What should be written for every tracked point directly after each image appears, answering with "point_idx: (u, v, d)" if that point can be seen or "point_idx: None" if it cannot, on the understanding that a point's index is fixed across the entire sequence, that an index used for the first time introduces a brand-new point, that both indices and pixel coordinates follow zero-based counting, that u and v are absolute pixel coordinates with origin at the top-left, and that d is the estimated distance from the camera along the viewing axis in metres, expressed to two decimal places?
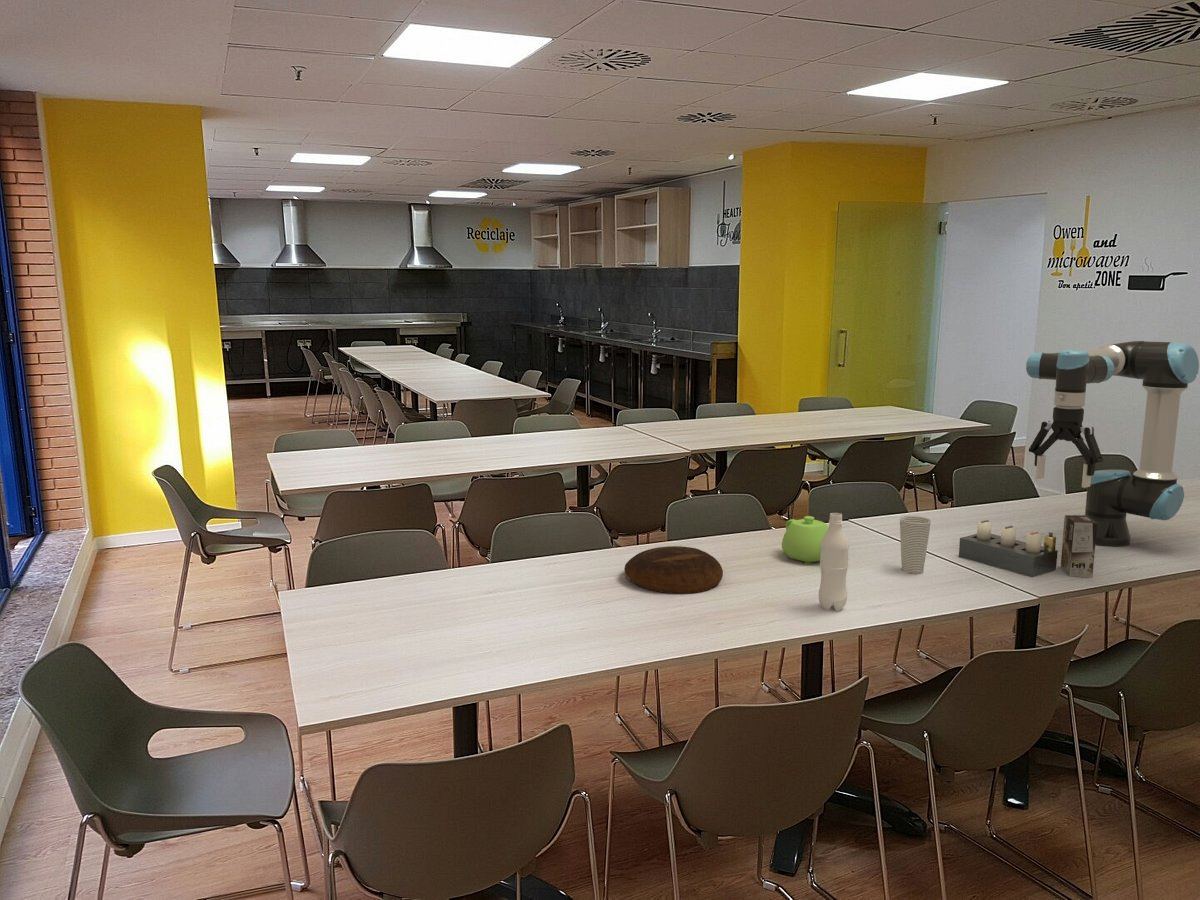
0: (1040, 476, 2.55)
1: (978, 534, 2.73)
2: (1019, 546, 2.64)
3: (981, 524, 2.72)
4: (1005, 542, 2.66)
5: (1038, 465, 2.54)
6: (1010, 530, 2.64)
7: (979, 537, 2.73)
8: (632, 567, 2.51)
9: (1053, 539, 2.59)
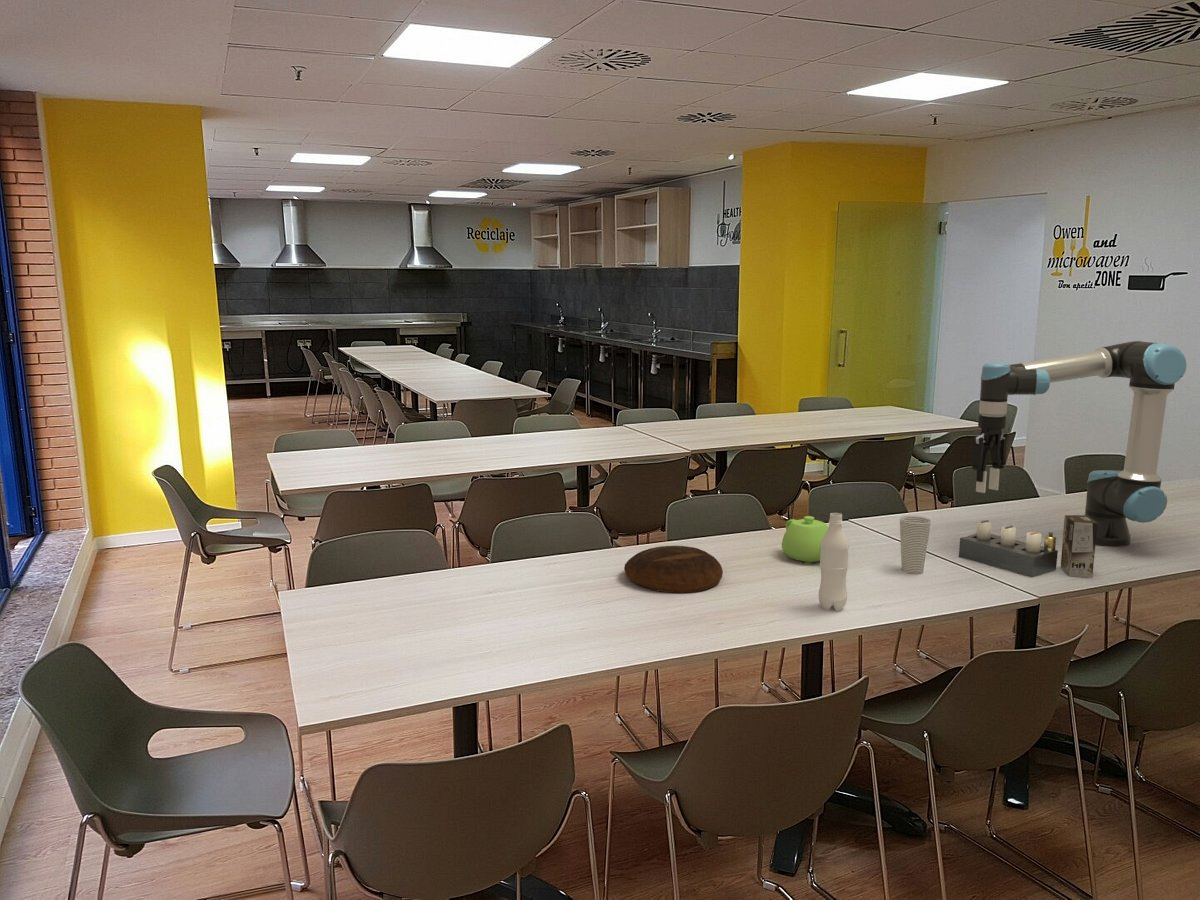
0: (991, 487, 2.73)
1: (978, 534, 2.73)
2: (1019, 546, 2.64)
3: (981, 524, 2.72)
4: (1005, 542, 2.66)
5: None
6: (1010, 530, 2.64)
7: (979, 537, 2.73)
8: (632, 567, 2.52)
9: (1053, 539, 2.59)
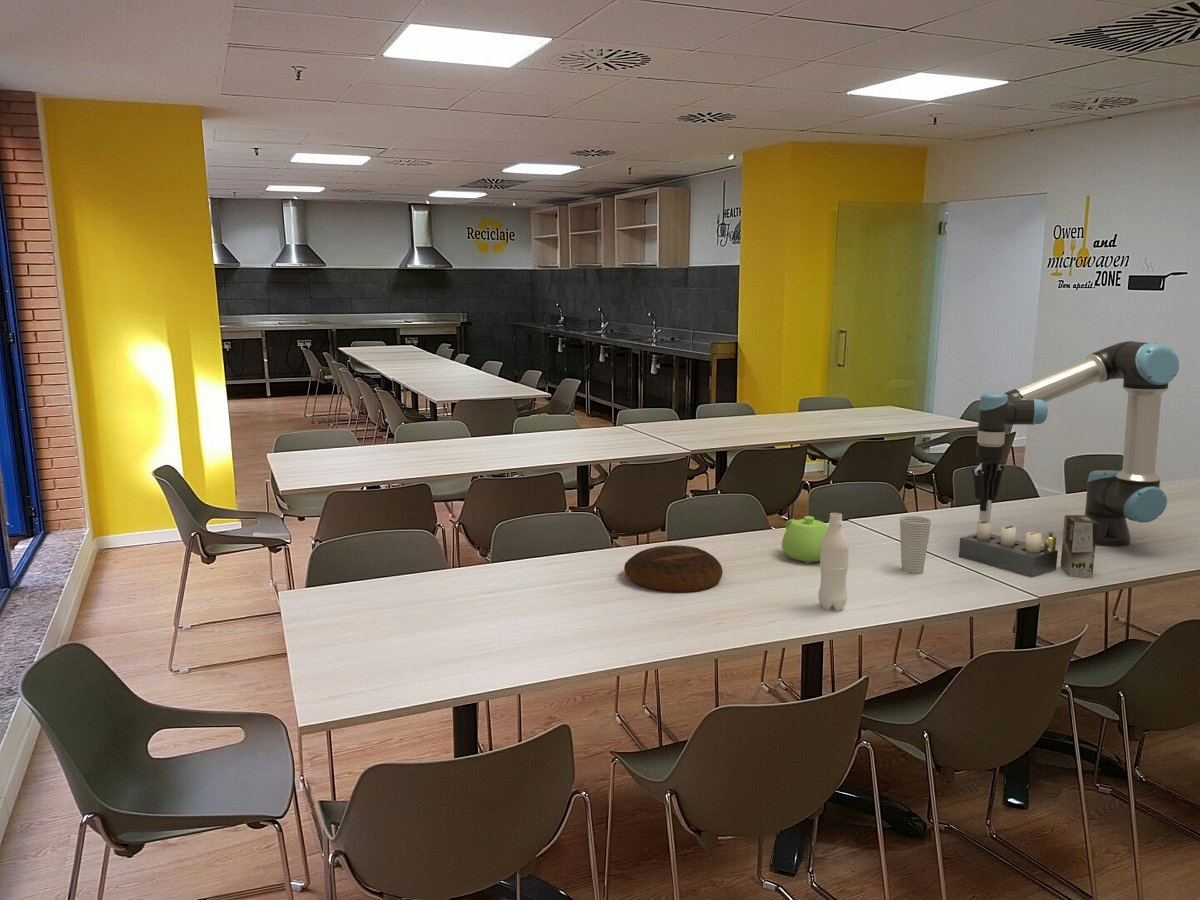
0: None
1: (978, 534, 2.73)
2: (1019, 546, 2.64)
3: (981, 524, 2.72)
4: (1005, 542, 2.66)
5: None
6: (1010, 530, 2.64)
7: (979, 538, 2.73)
8: (632, 566, 2.52)
9: (1053, 539, 2.59)
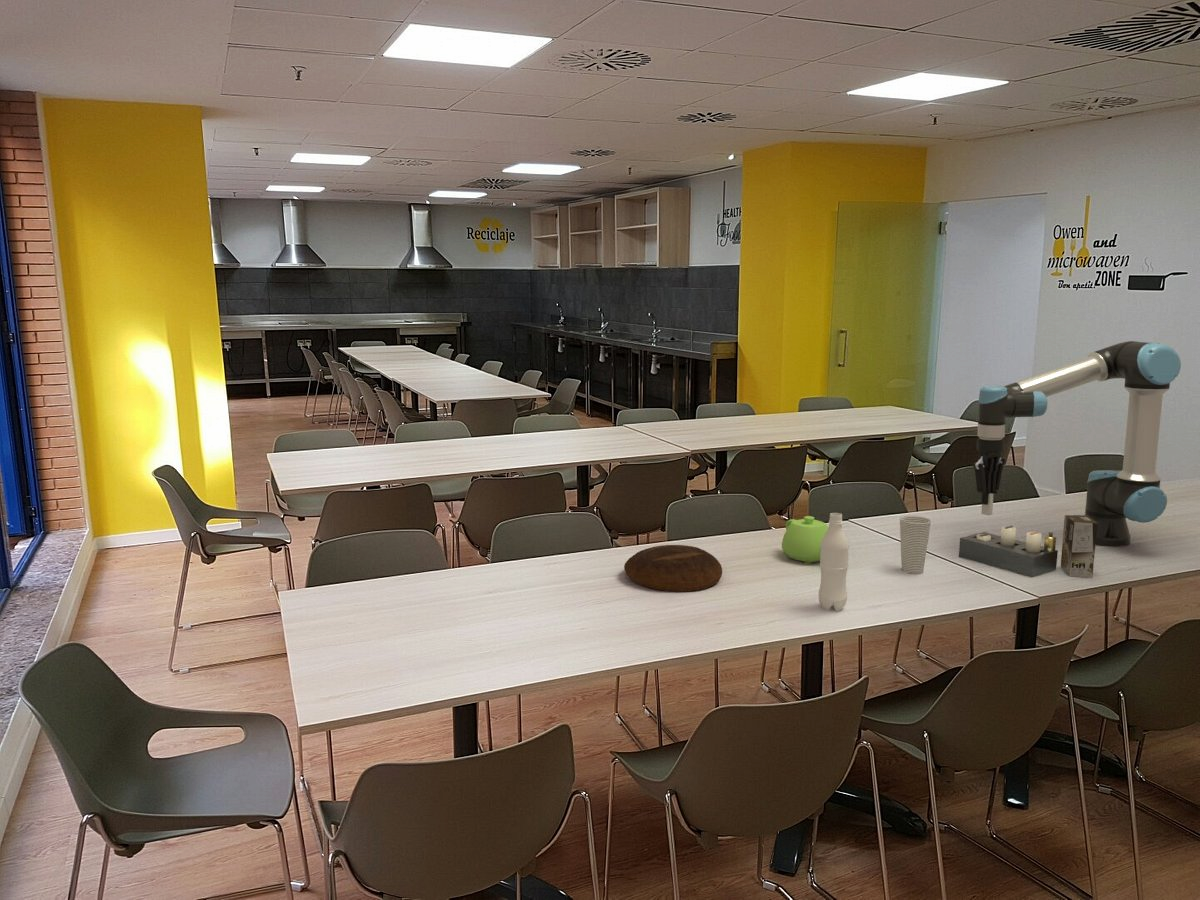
0: None
1: None
2: (1019, 546, 2.64)
3: (980, 538, 2.72)
4: (1005, 542, 2.66)
5: None
6: (1010, 530, 2.64)
7: None
8: (632, 566, 2.52)
9: (1053, 539, 2.59)
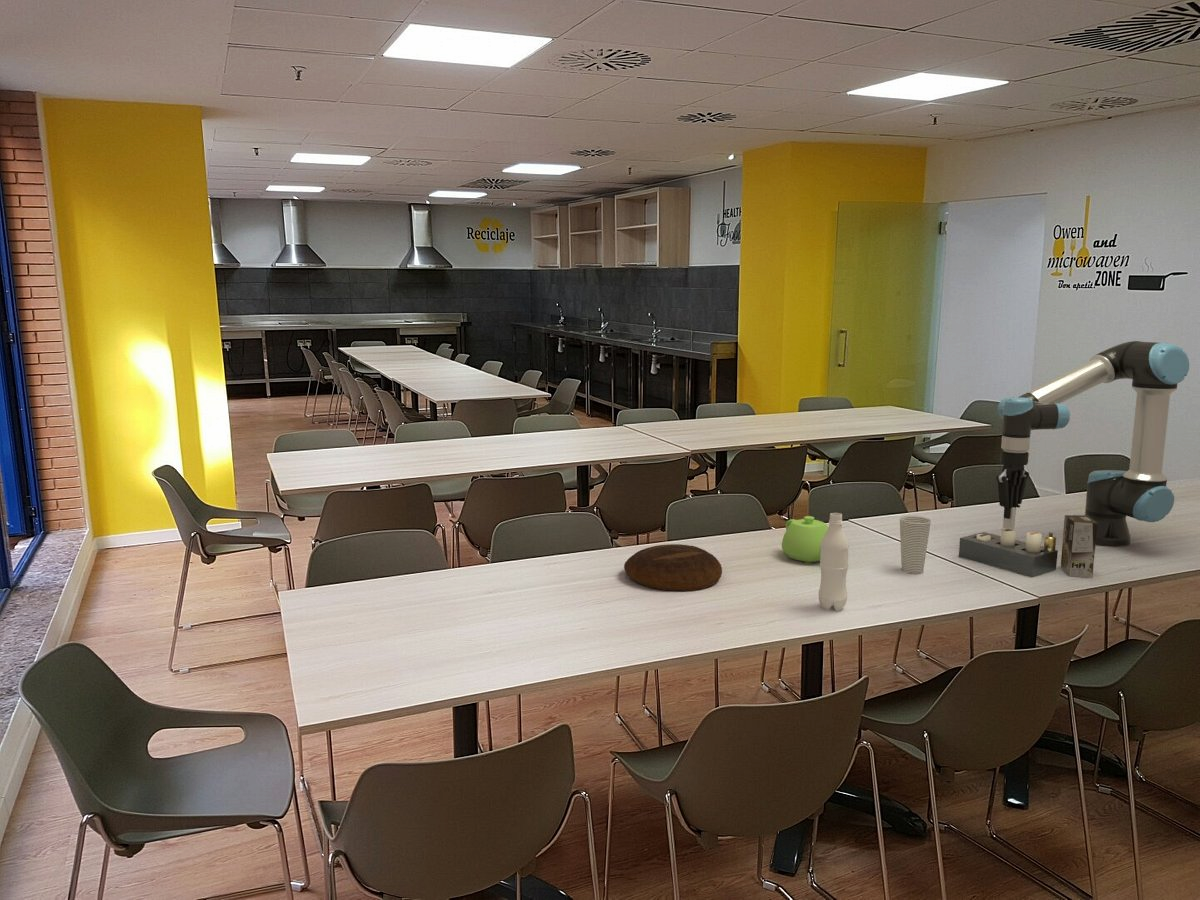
0: None
1: None
2: (1019, 546, 2.64)
3: (980, 538, 2.72)
4: (1005, 545, 2.66)
5: None
6: (1010, 533, 2.64)
7: None
8: (632, 565, 2.53)
9: (1053, 539, 2.59)
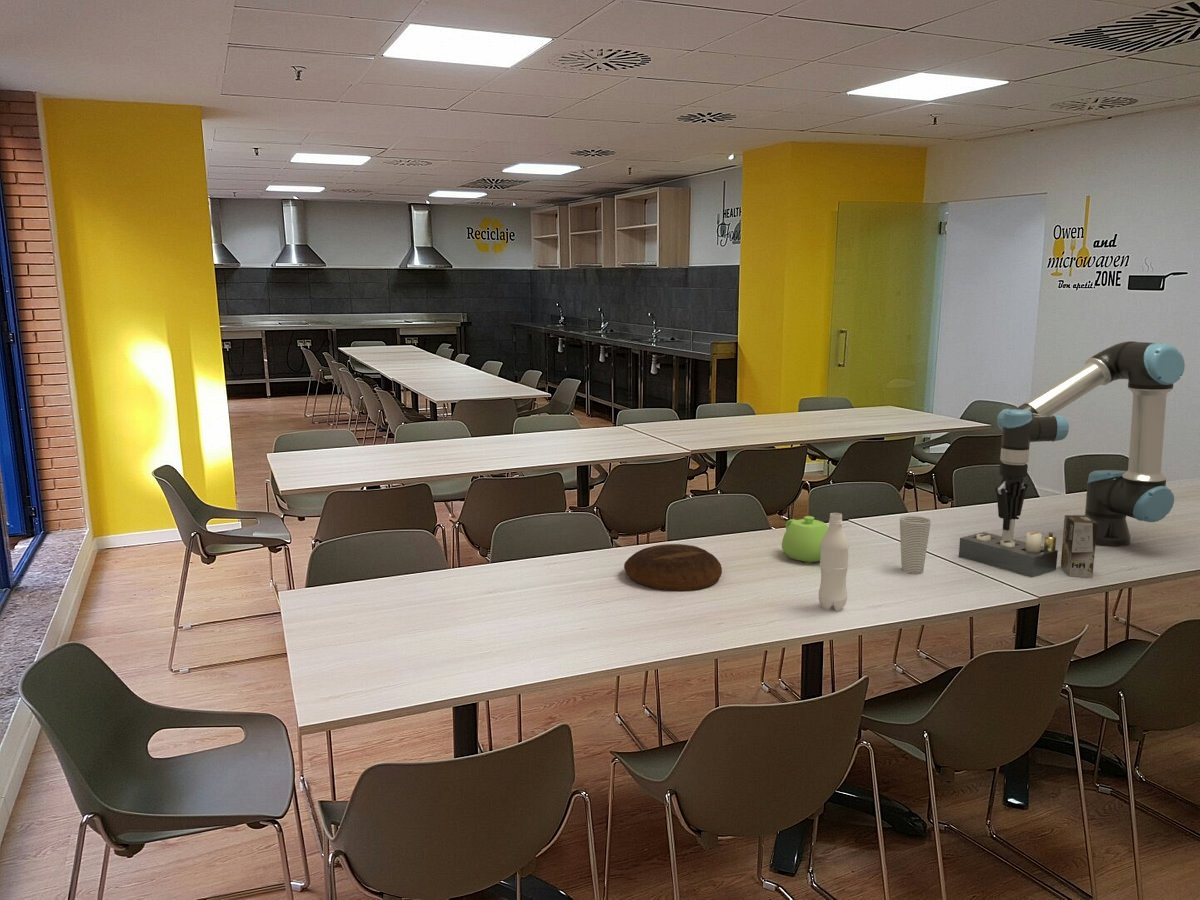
0: None
1: None
2: (1019, 546, 2.64)
3: (980, 538, 2.72)
4: None
5: None
6: (1009, 544, 2.65)
7: None
8: (633, 565, 2.53)
9: (1053, 539, 2.59)
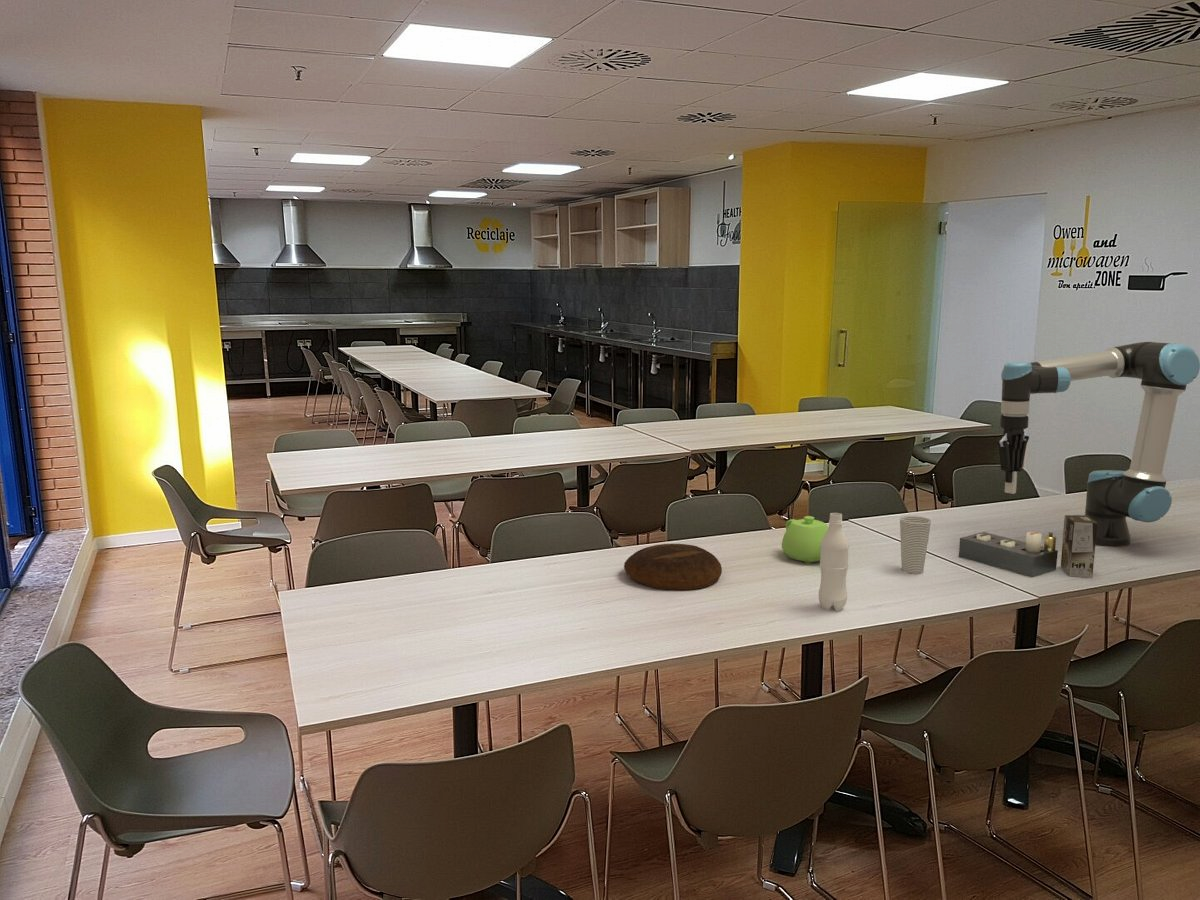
0: None
1: None
2: (1019, 546, 2.64)
3: (980, 538, 2.72)
4: None
5: None
6: (1009, 544, 2.65)
7: None
8: (633, 565, 2.53)
9: (1053, 539, 2.59)
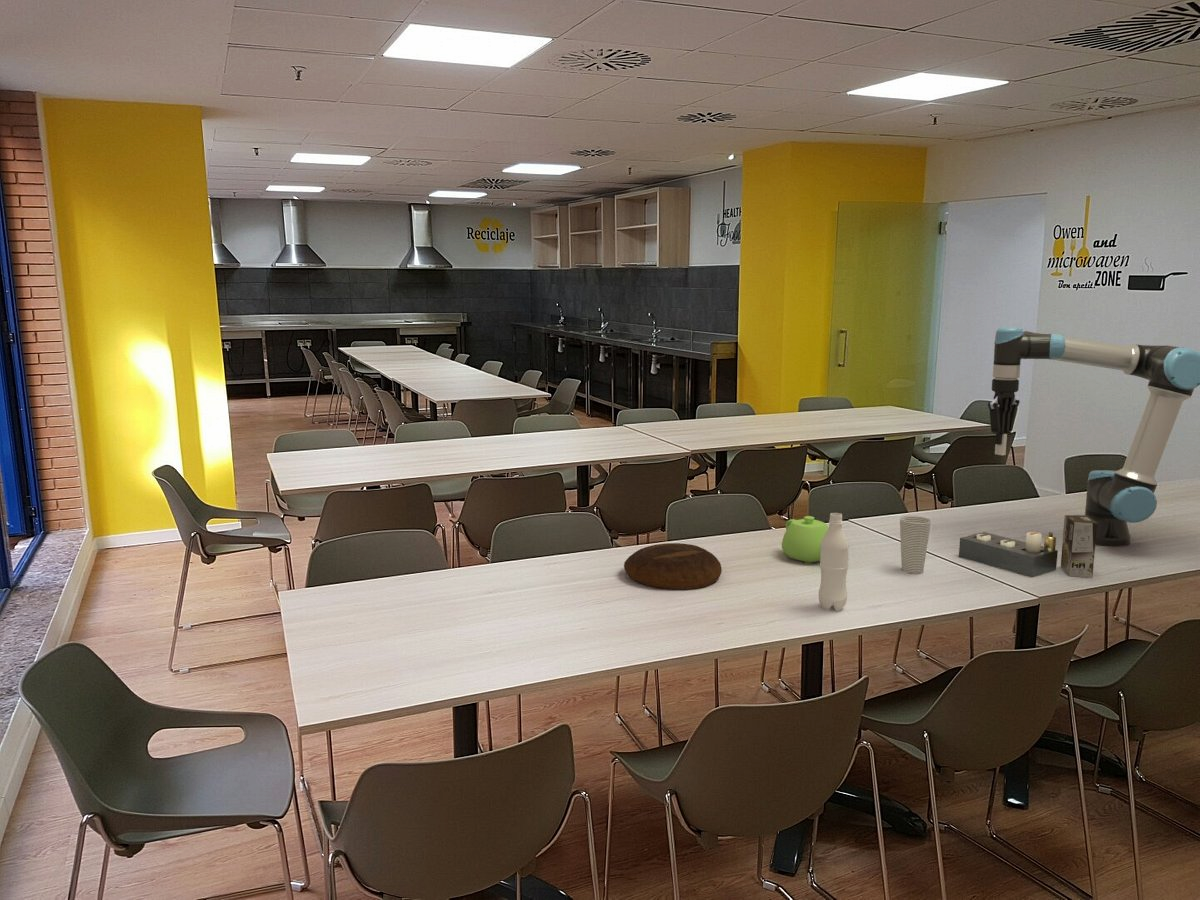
0: None
1: None
2: (1019, 546, 2.64)
3: (980, 538, 2.72)
4: None
5: None
6: (1009, 544, 2.65)
7: None
8: (633, 564, 2.54)
9: (1053, 539, 2.59)
